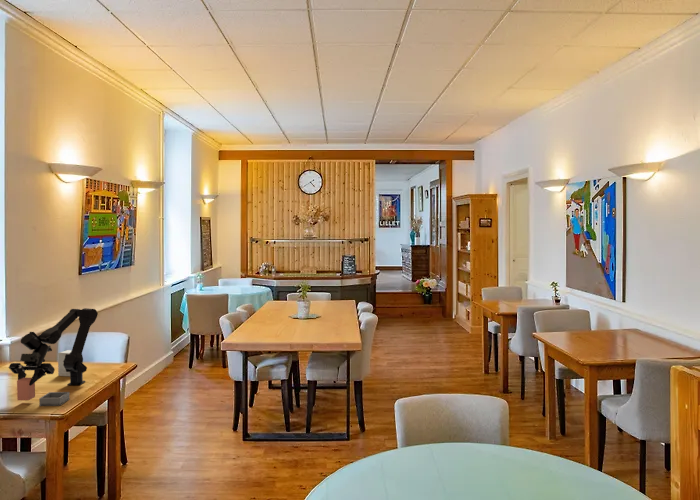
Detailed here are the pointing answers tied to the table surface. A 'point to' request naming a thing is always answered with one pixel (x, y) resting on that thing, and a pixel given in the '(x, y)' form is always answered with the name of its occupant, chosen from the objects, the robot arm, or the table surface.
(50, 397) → the open box
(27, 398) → the red block
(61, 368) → the supplement box
